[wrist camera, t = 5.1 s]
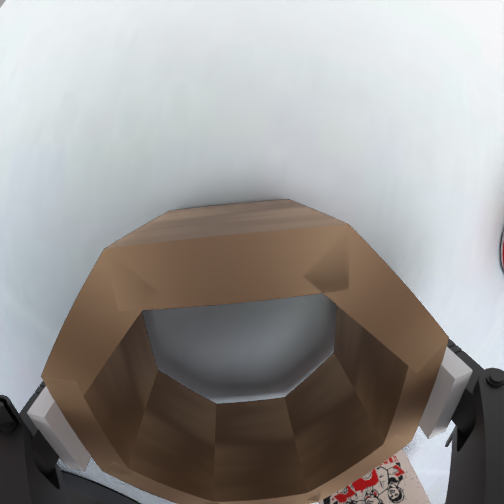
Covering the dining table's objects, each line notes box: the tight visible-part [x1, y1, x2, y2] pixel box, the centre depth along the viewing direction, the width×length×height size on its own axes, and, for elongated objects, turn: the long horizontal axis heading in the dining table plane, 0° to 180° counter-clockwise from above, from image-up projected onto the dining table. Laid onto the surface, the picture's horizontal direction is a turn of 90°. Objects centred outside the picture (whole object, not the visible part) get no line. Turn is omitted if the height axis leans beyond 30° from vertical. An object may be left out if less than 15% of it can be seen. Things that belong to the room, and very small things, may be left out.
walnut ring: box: [41, 199, 449, 504], centre depth 9 cm, size 11×11×6 cm
